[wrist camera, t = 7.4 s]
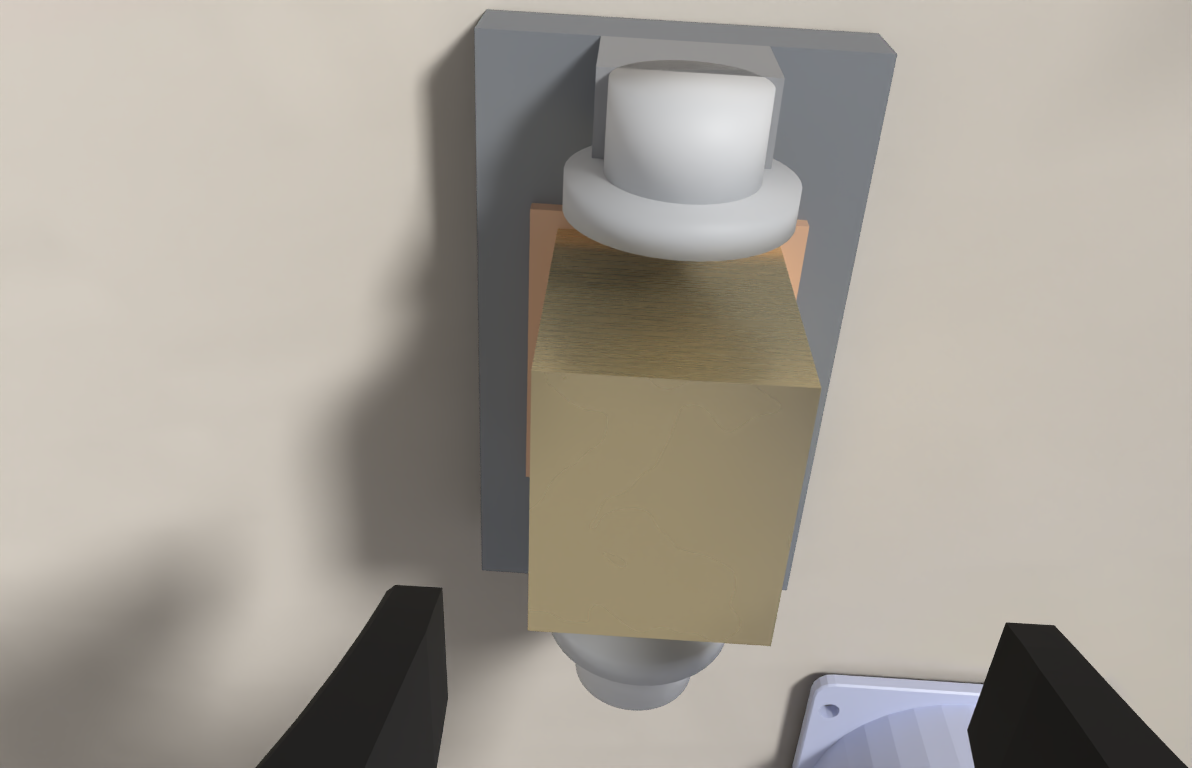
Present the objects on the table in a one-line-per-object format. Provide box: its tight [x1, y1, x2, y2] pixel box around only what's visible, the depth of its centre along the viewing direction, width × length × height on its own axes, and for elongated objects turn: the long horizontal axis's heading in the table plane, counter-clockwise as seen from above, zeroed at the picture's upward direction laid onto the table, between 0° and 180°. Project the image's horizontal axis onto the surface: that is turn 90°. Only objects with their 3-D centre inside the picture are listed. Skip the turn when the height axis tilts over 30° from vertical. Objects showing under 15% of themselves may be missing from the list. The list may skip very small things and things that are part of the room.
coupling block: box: [528, 228, 822, 646], centre depth 17 cm, size 5×4×5 cm
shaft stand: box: [474, 10, 897, 710], centre depth 18 cm, size 12×7×6 cm, turn 177°
